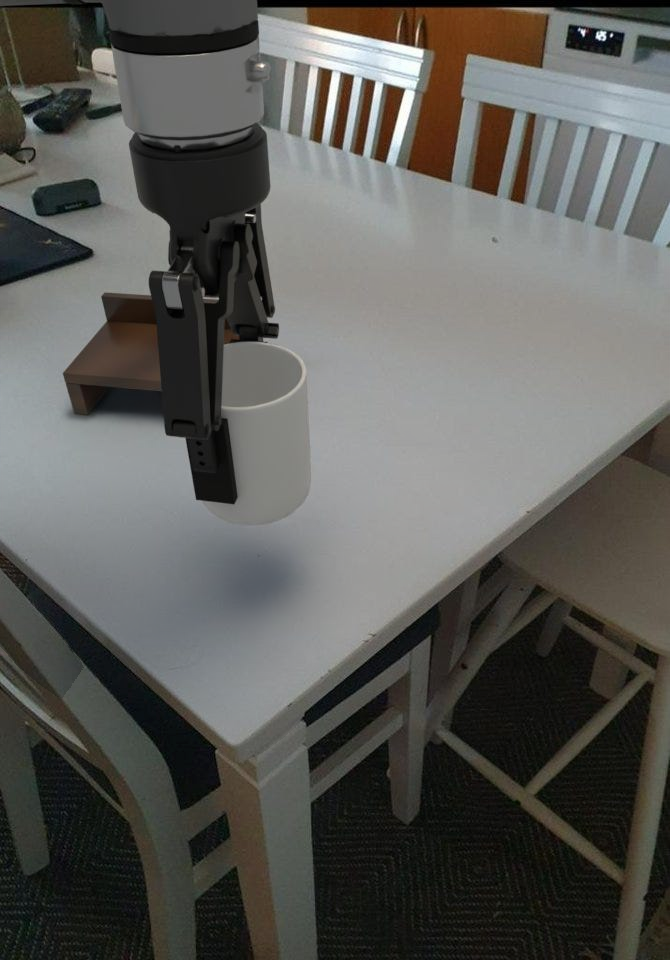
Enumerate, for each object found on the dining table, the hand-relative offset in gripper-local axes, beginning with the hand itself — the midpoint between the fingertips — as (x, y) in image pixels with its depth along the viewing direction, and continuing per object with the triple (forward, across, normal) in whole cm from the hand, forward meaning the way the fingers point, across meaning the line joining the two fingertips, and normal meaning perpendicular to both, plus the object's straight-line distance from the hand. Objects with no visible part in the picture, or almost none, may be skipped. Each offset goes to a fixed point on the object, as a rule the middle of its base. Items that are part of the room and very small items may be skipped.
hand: (237, 455), depth 58 cm
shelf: (+13, +26, +17) cm, 33 cm away
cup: (+3, +1, 0) cm, 3 cm away
